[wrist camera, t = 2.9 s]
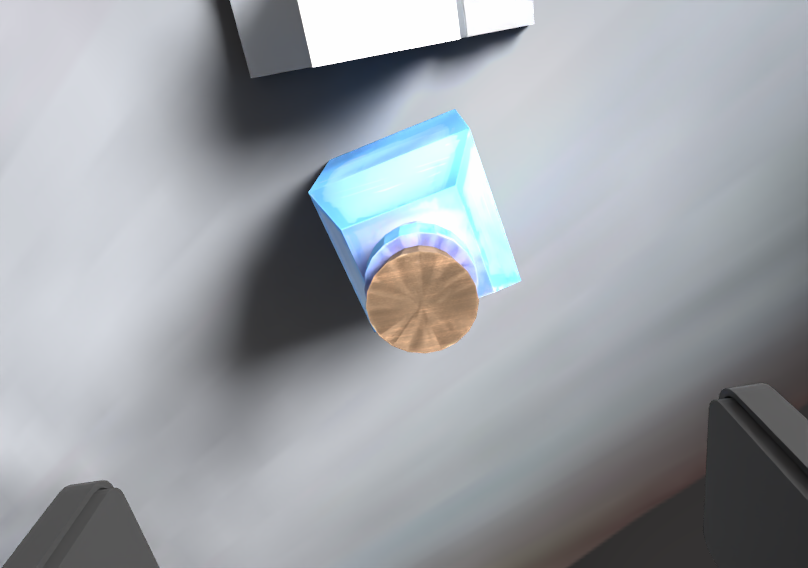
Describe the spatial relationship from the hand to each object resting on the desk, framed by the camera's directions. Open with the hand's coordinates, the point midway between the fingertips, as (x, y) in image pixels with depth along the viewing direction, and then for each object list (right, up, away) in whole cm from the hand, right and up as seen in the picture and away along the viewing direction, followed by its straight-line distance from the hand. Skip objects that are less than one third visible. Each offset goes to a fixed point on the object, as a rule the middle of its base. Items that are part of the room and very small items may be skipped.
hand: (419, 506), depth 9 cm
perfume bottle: (0, +8, +18) cm, 20 cm away
